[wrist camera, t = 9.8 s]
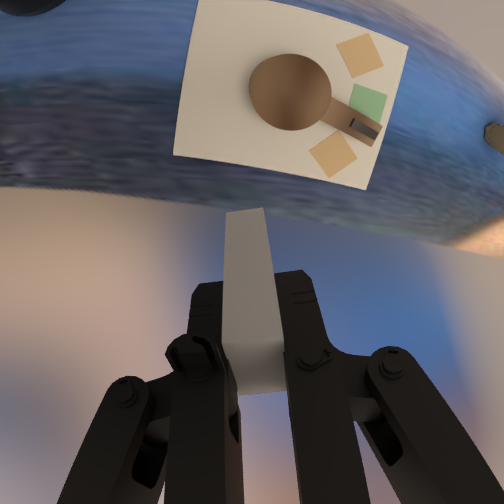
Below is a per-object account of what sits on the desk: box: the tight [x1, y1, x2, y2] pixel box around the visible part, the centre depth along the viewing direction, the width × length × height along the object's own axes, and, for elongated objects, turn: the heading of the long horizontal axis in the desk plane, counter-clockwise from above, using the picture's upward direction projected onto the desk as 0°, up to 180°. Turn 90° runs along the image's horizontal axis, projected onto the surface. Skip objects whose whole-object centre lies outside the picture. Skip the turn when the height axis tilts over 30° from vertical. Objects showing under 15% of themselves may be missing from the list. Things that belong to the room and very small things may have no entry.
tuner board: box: [173, 0, 408, 190], centre depth 29 cm, size 18×22×1 cm
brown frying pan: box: [249, 54, 383, 147], centre depth 27 cm, size 13×7×5 cm, turn 67°
